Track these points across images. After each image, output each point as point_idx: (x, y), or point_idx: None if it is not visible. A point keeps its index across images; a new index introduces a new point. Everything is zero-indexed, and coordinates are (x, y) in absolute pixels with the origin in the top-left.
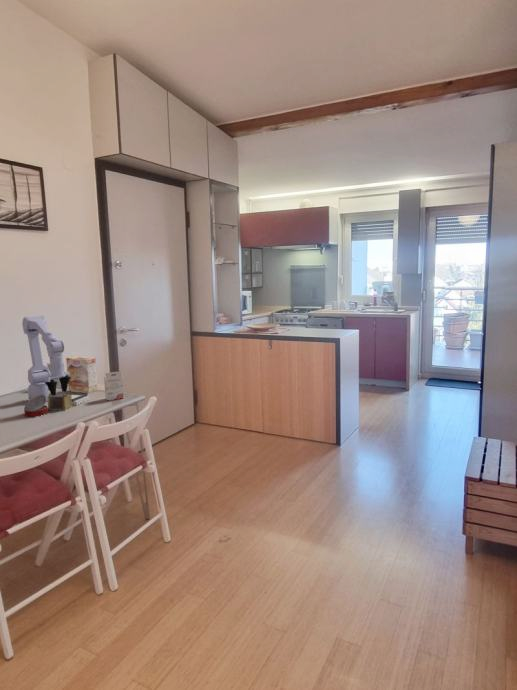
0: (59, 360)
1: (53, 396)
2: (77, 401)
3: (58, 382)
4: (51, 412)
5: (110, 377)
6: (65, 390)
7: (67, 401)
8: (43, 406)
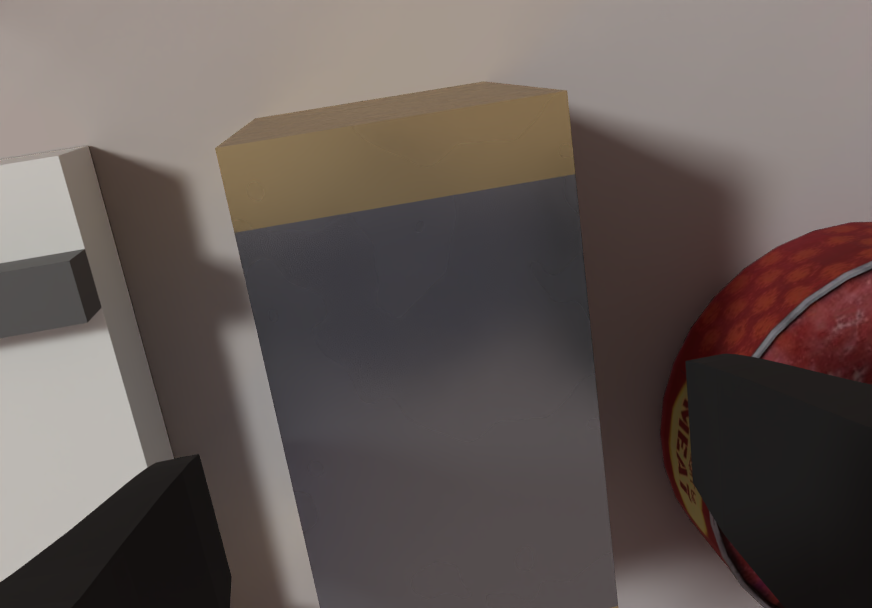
0: None
1: (599, 482)
2: (21, 163)
3: None
4: (693, 229)
5: None
6: (192, 477)
7: (412, 102)
8: None
